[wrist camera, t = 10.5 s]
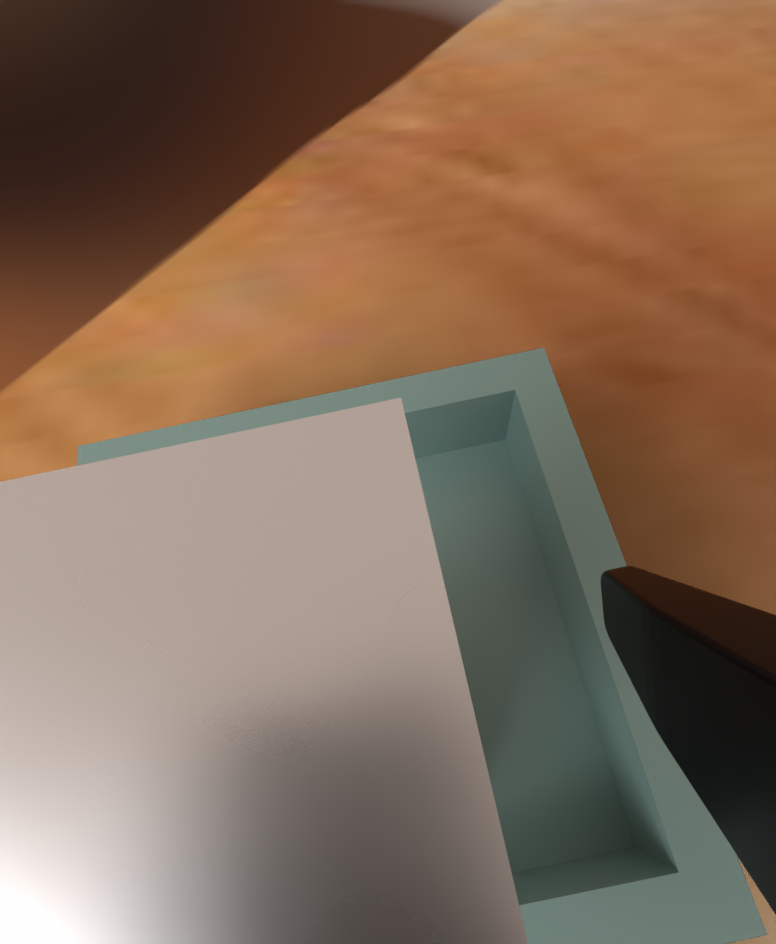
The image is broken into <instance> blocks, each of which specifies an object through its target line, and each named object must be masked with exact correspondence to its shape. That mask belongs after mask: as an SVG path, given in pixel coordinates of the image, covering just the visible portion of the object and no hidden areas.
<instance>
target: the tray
mask: <svg viewBox="0 0 776 944" xmlns="http://www.w3.org/2000/svg"><path fill="white" fill-rule="evenodd" d="M397 398H401V400H402V404H403V408H404V412H405V417H406V421H407V425H408V430H409V434H410V438H411V443H412V447H413V451H414V455H415V460H416V464H417V468H418V473H419V477H420V481H421V486H422V490H423V494H424V498H425V503H426V507H427V511H428V516H429V520H430V524H431V529H432V533H433V537H434V541H435V546H436V550H437V554H438V559H439V563H440V567H441V572H442V576H443V580H444V584H445V589H446V593H447V597H448V602H449V606H450V610H451V615H452V619H453V623H454V627H455V632H456V636H457V640H458V645H459V649H460V653H461V657H462V662H463V666H464V670H465V675H466V679H467V683H468V688H469V692H470V696H471V700H472V705H473V709H474V713H475V718H476V722H477V726H478V731H479V735H480V739H481V743H482V748H483V752H484V756H485V761H486V765H487V769H488V774H489V778H490V782H491V786H492V791H493V795H494V799H495V804H496V808H497V812H498V817H499V821H500V825H501V829H502V834H503V838H504V842H505V847H506V851H507V855H508V860H509V864H510V868H511V872H512V877H513V881H514V885H515V890H516V894H517V898H518V903H519V907H520V911H521V915H522V920H523V924H524V928H525V933H526V937H527V941H528V944H726V943H730V942H735V941H740V940H745V939H750V938H755V937H760V936H765V935H767V933H766V931H765V928H764V925H763V923H762V920H761V917H760V915H759V912H758V910H757V907H756V904H755V902H754V899H753V896H752V894H751V891H750V888H749V886H748V883H747V881H746V878H745V875H744V873H743V870H742V867H741V865H740V862H739V860H738V857H737V854H736V853H735V851H734V850H733V848H732V847H731V845H730V844H729V842H728V840H727V839H726V837H725V836H724V834H723V833H722V831H721V830H720V828H719V827H718V825H717V824H716V822H715V821H714V819H713V817H712V816H711V814H710V813H709V811H708V810H707V808H706V807H705V805H704V804H703V802H702V801H701V799H700V797H699V796H698V794H697V793H696V791H695V790H694V788H693V787H692V785H691V784H690V782H689V781H688V779H687V778H686V776H685V774H684V773H683V771H682V770H681V768H680V767H679V765H678V764H677V762H676V761H675V759H674V758H673V756H672V754H671V753H670V751H669V750H668V748H667V747H666V745H665V744H664V742H663V740H662V739H661V737H660V735H659V734H658V732H657V731H656V729H655V727H654V725H653V723H652V721H651V719H650V718H649V716H648V714H647V712H646V710H645V708H644V706H643V704H642V702H641V700H640V698H639V696H638V694H637V692H636V690H635V688H634V686H633V684H632V682H631V680H630V678H629V676H628V674H627V672H626V670H625V668H624V666H623V664H622V662H621V660H620V658H619V656H618V654H617V652H616V650H615V648H614V646H613V644H612V642H611V640H610V638H609V636H608V634H607V631H606V628H605V624H604V616H603V605H602V594H601V575H602V573H603V572H604V571H606V570H610V569H615V568H619V567H624V566H627V565H626V562H625V560H624V557H623V554H622V552H621V549H620V546H619V544H618V541H617V539H616V536H615V533H614V531H613V528H612V525H611V523H610V520H609V517H608V515H607V512H606V510H605V507H604V504H603V502H602V499H601V496H600V494H599V491H598V489H597V486H596V483H595V481H594V478H593V475H592V473H591V470H590V467H589V465H588V462H587V460H586V457H585V454H584V452H583V449H582V446H581V444H580V441H579V439H578V436H577V433H576V431H575V428H574V425H573V423H572V420H571V417H570V415H569V412H568V410H567V407H566V404H565V402H564V399H563V396H562V394H561V391H560V389H559V386H558V383H557V381H556V378H555V375H554V373H553V370H552V367H551V365H550V362H549V360H548V357H547V354H546V352H545V349H544V348H540V349H535V350H530V351H526V352H521V353H516V354H511V355H507V356H502V357H497V358H492V359H488V360H483V361H478V362H474V363H469V364H464V365H459V366H455V367H450V368H445V369H441V370H436V371H431V372H426V373H422V374H417V375H412V376H407V377H403V378H398V379H393V380H389V381H384V382H379V383H374V384H370V385H365V386H360V387H355V388H351V389H346V390H341V391H337V392H332V393H327V394H322V395H318V396H313V397H308V398H303V399H299V400H294V401H289V402H285V403H280V404H275V405H270V406H266V407H261V408H256V409H251V410H247V411H242V412H237V413H233V414H228V415H223V416H218V417H214V418H209V419H204V420H199V421H195V422H190V423H185V424H181V425H176V426H171V427H166V428H162V429H157V430H152V431H147V432H143V433H138V434H133V435H129V436H124V437H119V438H114V439H110V440H105V441H100V442H95V443H91V444H86V445H81V446H78V454H77V466H79V465H83V464H88V463H93V462H98V461H102V460H107V459H112V458H117V457H121V456H126V455H131V454H136V453H140V452H145V451H150V450H155V449H159V448H164V447H169V446H174V445H178V444H183V443H188V442H193V441H197V440H202V439H207V438H212V437H216V436H221V435H226V434H231V433H235V432H240V431H245V430H250V429H254V428H259V427H264V426H269V425H273V424H278V423H283V422H288V421H292V420H297V419H302V418H306V417H311V416H316V415H321V414H325V413H330V412H335V411H340V410H344V409H349V408H354V407H359V406H363V405H368V404H373V403H378V402H382V401H387V400H392V399H397Z"/></svg>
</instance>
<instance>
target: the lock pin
mask: <svg viewBox="0 0 776 944" xmlns="http://www.w3.org/2000/svg"><path fill="white" fill-rule="evenodd" d="M0 944H528V941H527V937H526V933H525V928H524V924H523V920H522V915H521V911H520V907H519V903H518V898H517V894H516V890H515V885H514V881H513V877H512V872H511V868H510V864H509V860H508V855H507V851H506V847H505V842H504V838H503V834H502V829H501V825H500V821H499V817H498V812H497V808H496V804H495V799H494V795H493V791H492V786H491V782H490V778H489V774H488V769H487V765H486V761H485V756H484V752H483V748H482V743H481V739H480V735H479V731H478V726H477V722H476V718H475V713H474V709H473V705H472V700H471V696H470V692H469V688H468V683H467V679H466V675H465V670H464V666H463V662H462V657H461V653H460V649H459V645H458V640H457V636H456V632H455V627H454V623H453V619H452V615H451V610H450V606H449V602H448V597H447V593H446V589H445V584H444V580H443V576H442V572H441V567H440V563H439V559H438V554H437V550H436V546H435V541H434V537H433V533H432V529H431V524H430V520H429V516H428V511H427V507H426V503H425V498H424V494H423V490H422V486H421V481H420V477H419V473H418V468H417V464H416V460H415V455H414V451H413V447H412V443H411V438H410V434H409V430H408V425H407V421H406V417H405V412H404V408H403V404H402V400H401V398H397V399H392V400H387V401H382V402H378V403H373V404H368V405H363V406H359V407H354V408H349V409H344V410H340V411H335V412H330V413H325V414H321V415H316V416H311V417H306V418H302V419H297V420H292V421H288V422H283V423H278V424H273V425H269V426H264V427H259V428H254V429H250V430H245V431H240V432H235V433H231V434H226V435H221V436H216V437H212V438H207V439H202V440H197V441H193V442H188V443H183V444H178V445H174V446H169V447H164V448H159V449H155V450H150V451H145V452H140V453H136V454H131V455H126V456H121V457H117V458H112V459H107V460H102V461H98V462H93V463H88V464H83V465H79V466H74V467H69V468H64V469H60V470H55V471H50V472H45V473H41V474H36V475H31V476H26V477H22V478H17V479H12V480H7V481H3V482H0Z"/></svg>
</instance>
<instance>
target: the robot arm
mask: <svg viewBox="0 0 776 944" xmlns="http://www.w3.org/2000/svg"><path fill="white" fill-rule="evenodd" d="M601 594H602V605H603V616H604V624H605V628H606V631H607V634H608V636H609V638H610V640H611V642H612V644H613V646H614V648H615V650H616V652H617V654H618V656H619V658H620V660H621V662H622V664H623V666H624V668H625V670H626V672H627V674H628V676H629V678H630V680H631V682H632V684H633V686H634V688H635V690H636V692H637V694H638V696H639V698H640V700H641V702H642V704H643V706H644V708H645V710H646V712H647V714H648V716H649V718H650V719H651V721H652V723H653V725H654V727H655V729H656V731H657V732H658V734H659V735H660V737H661V739H662V740H663V742H664V744H665V745H666V747H667V748H668V750H669V751H670V753H671V754H672V756H673V758H674V759H675V761H676V762H677V764H678V765H679V767H680V768H681V770H682V771H683V773H684V774H685V776H686V778H687V779H688V781H689V782H690V784H691V785H692V787H693V788H694V790H695V791H696V793H697V794H698V796H699V797H700V799H701V801H702V802H703V804H704V805H705V807H706V808H707V810H708V811H709V813H710V814H711V816H712V817H713V819H714V821H715V822H716V824H717V825H718V827H719V828H720V830H721V831H722V833H723V834H724V836H725V837H726V839H727V840H728V842H729V844H730V845H731V847H732V848H733V850H734V851H735V853H736V854H737V856H738V857H739V859H740V860H741V862H742V863H743V865H744V867H745V868H746V870H747V871H748V873H749V874H750V876H751V877H752V879H753V880H754V882H755V883H756V885H757V887H758V888H759V890H760V891H761V893H762V894H763V896H764V897H765V899H766V900H767V902H768V903H769V905H770V906H771V908H772V910H773V911H774V913H775V914H776V615H774V614H771V613H768V612H765V611H762V610H759V609H756V608H753V607H750V606H747V605H744V604H741V603H738V602H736V601H733V600H730V599H727V598H724V597H721V596H718V595H715V594H712V593H709V592H706V591H703V590H700V589H697V588H695V587H692V586H689V585H686V584H683V583H680V582H677V581H674V580H671V579H668V578H665V577H662V576H659V575H656V574H654V573H651V572H648V571H645V570H642V569H639V568H636V567H633V566H624V567H619V568H615V569H610V570H606V571H604V572H603V573H602V575H601Z"/></svg>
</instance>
